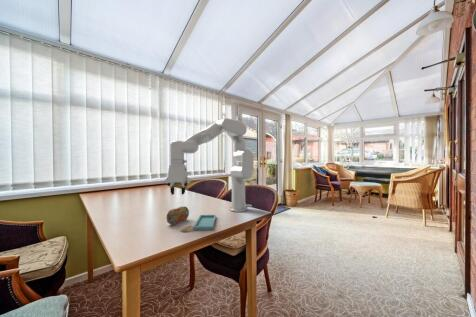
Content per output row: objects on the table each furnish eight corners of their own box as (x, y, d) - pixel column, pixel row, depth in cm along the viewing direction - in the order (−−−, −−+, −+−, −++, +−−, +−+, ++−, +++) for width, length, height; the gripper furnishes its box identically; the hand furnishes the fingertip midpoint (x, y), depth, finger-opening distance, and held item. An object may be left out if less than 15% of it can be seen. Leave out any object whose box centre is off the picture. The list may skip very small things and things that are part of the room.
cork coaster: (196, 226, 111) (196, 225, 111) (193, 232, 103) (193, 231, 103) (182, 226, 110) (182, 225, 110) (177, 232, 102) (177, 231, 102)
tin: (169, 226, 111) (169, 211, 110) (165, 225, 112) (165, 210, 112) (189, 219, 124) (189, 205, 123) (185, 218, 125) (185, 204, 125)
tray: (216, 217, 126) (216, 214, 126) (212, 230, 105) (212, 226, 105) (200, 217, 126) (199, 214, 126) (192, 230, 105) (192, 226, 105)
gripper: (193, 162, 121) (194, 192, 121) (164, 162, 121) (165, 193, 121) (190, 162, 113) (191, 195, 114) (159, 162, 113) (160, 195, 113)
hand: (177, 193), depth 117 cm, fingers open, 5 cm apart
